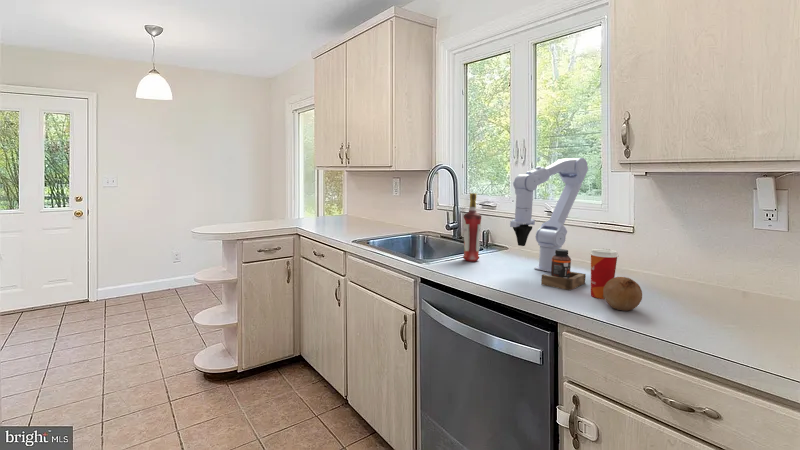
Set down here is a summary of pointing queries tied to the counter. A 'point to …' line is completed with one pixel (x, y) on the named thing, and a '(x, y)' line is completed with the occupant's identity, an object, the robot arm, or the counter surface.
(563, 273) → the supplement bottle
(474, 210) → the liquor
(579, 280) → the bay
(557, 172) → the robot arm
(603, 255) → the paper cup
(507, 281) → the counter surface
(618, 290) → the onion
